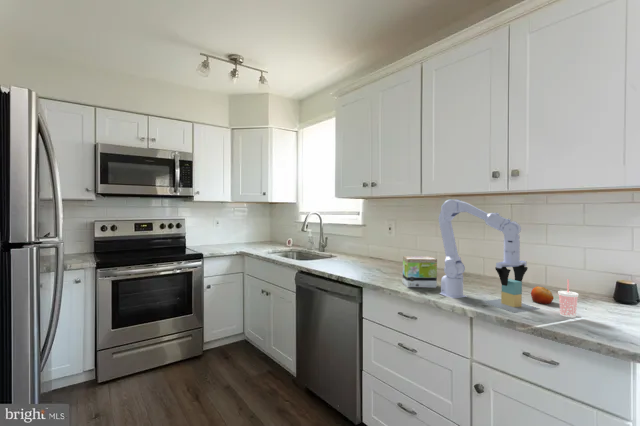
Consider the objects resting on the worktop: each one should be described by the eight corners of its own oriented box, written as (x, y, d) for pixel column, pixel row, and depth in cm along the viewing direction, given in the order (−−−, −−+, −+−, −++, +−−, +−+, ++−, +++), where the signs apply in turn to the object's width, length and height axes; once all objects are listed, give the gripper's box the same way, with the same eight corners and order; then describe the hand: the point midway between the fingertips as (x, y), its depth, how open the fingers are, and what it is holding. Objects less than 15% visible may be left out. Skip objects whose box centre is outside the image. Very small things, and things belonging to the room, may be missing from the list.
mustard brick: (501, 303, 138) (501, 291, 138) (508, 302, 140) (508, 290, 139) (514, 307, 133) (514, 294, 132) (521, 306, 134) (521, 293, 134)
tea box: (407, 288, 167) (407, 258, 167) (402, 283, 177) (402, 255, 177) (437, 287, 167) (437, 258, 167) (430, 283, 177) (430, 255, 177)
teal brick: (501, 291, 138) (501, 279, 138) (508, 290, 139) (508, 278, 139) (514, 295, 132) (514, 282, 132) (521, 294, 134) (521, 281, 134)
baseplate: (480, 302, 141) (480, 301, 141) (505, 299, 146) (505, 298, 146) (514, 314, 126) (514, 312, 126) (540, 310, 131) (540, 308, 131)
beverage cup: (569, 313, 126) (569, 277, 126) (582, 319, 120) (583, 280, 120) (553, 314, 126) (554, 277, 125) (566, 319, 120) (566, 281, 119)
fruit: (527, 295, 146) (538, 281, 143) (545, 307, 142) (557, 293, 139) (524, 299, 140) (535, 285, 137) (543, 312, 136) (555, 297, 133)
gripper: (506, 253, 129) (506, 288, 130) (533, 251, 134) (533, 285, 135) (491, 251, 136) (491, 284, 136) (517, 249, 141) (517, 281, 141)
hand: (511, 284), depth 136 cm, fingers open, 7 cm apart
